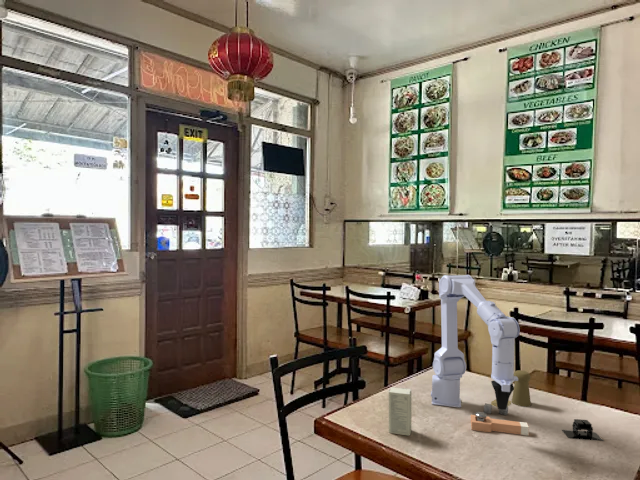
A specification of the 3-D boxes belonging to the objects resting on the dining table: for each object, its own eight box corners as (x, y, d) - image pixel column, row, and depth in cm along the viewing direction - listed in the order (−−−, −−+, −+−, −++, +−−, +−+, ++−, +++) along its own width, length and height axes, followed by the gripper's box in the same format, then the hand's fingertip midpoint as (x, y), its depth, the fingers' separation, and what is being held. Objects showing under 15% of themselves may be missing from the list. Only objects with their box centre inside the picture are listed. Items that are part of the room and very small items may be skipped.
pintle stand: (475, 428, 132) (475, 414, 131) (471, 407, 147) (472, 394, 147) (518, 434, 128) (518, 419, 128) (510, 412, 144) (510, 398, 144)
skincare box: (411, 430, 130) (412, 389, 130) (409, 436, 126) (410, 394, 126) (390, 426, 132) (391, 386, 132) (387, 433, 128) (388, 391, 128)
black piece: (564, 440, 126) (564, 425, 126) (554, 429, 133) (555, 414, 133) (611, 444, 124) (612, 428, 124) (599, 433, 131) (599, 417, 131)
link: (471, 429, 131) (471, 421, 131) (470, 422, 136) (470, 414, 136) (529, 437, 127) (529, 428, 127) (526, 429, 132) (526, 421, 132)
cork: (527, 400, 155) (527, 368, 154) (533, 407, 149) (534, 374, 148) (509, 399, 155) (509, 368, 155) (514, 406, 149) (515, 373, 149)
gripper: (522, 369, 117) (521, 420, 118) (514, 355, 131) (513, 400, 132) (494, 367, 119) (493, 417, 120) (488, 352, 133) (487, 397, 134)
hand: (501, 408), depth 126 cm, fingers closed
